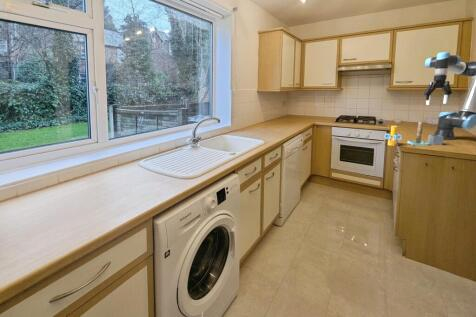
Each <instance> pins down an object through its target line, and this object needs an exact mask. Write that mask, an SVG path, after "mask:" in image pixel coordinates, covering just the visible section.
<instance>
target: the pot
mask: <svg viewBox="0 0 476 317" xmlns="http://www.w3.org/2000/svg"><path fill="white" fill-rule="evenodd" d="M443 138H444V136H440V135H434V134H428V139H427V143H429V145H431V146H443V144H444V139H443Z"/></svg>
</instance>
